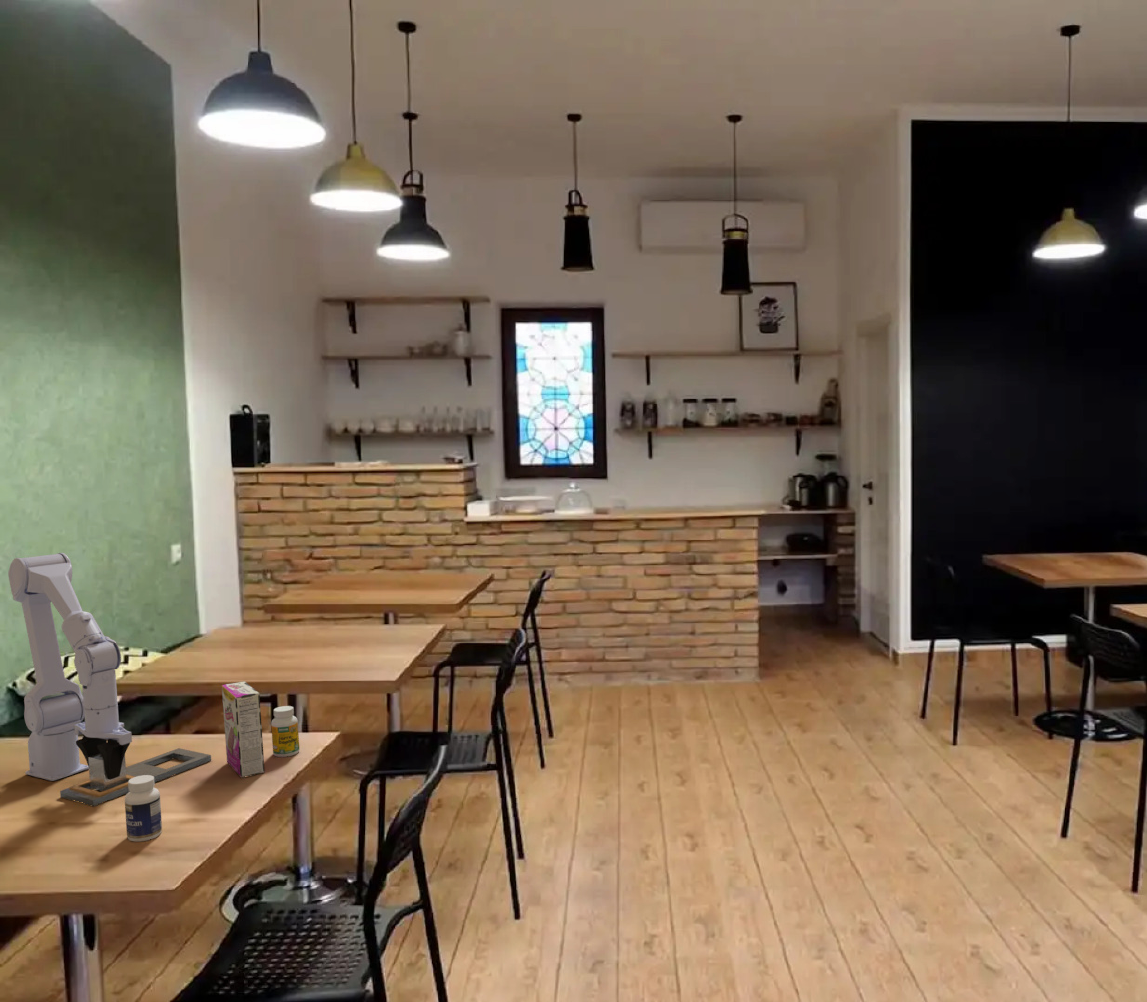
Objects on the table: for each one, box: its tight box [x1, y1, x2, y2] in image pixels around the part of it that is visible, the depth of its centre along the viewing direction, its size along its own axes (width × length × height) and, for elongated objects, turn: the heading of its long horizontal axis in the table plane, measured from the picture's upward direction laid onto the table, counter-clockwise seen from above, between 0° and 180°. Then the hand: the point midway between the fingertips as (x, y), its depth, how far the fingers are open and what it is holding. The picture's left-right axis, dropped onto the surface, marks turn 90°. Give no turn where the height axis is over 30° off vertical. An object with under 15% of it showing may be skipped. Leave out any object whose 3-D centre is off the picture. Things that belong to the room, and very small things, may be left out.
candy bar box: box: [221, 680, 266, 778], centre depth 188 cm, size 11×5×16 cm, turn 34°
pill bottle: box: [124, 775, 163, 842], centre depth 157 cm, size 5×5×10 cm
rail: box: [59, 747, 212, 807], centre depth 185 cm, size 10×26×2 cm, turn 151°
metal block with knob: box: [88, 753, 127, 792], centre depth 179 cm, size 4×4×6 cm
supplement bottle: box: [270, 705, 300, 758], centre depth 196 cm, size 5×5×10 cm
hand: (105, 775), depth 178 cm, fingers closed on metal block with knob, 4 cm apart
